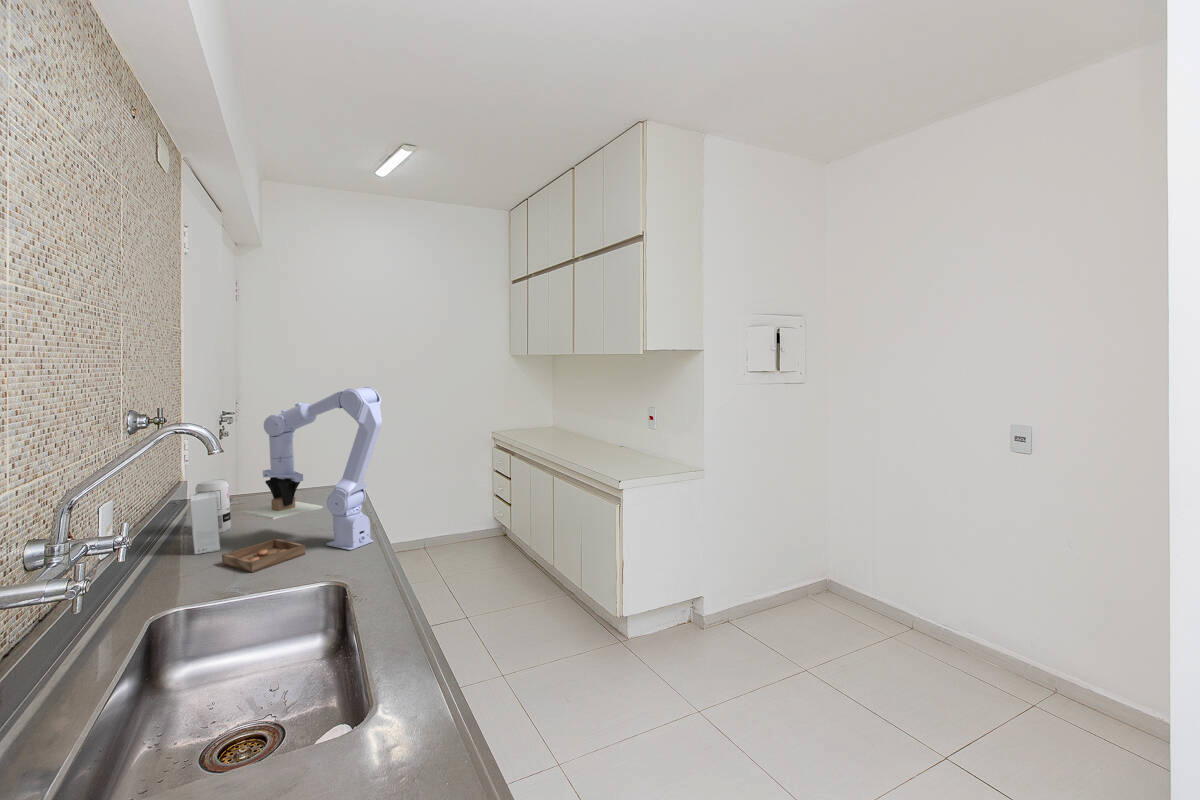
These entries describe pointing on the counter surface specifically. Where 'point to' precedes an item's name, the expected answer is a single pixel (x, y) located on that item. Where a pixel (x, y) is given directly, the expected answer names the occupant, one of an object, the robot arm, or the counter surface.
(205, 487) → the supplement can
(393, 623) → the counter surface
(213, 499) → the skincare box
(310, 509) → the lid
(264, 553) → the box
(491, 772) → the counter surface
